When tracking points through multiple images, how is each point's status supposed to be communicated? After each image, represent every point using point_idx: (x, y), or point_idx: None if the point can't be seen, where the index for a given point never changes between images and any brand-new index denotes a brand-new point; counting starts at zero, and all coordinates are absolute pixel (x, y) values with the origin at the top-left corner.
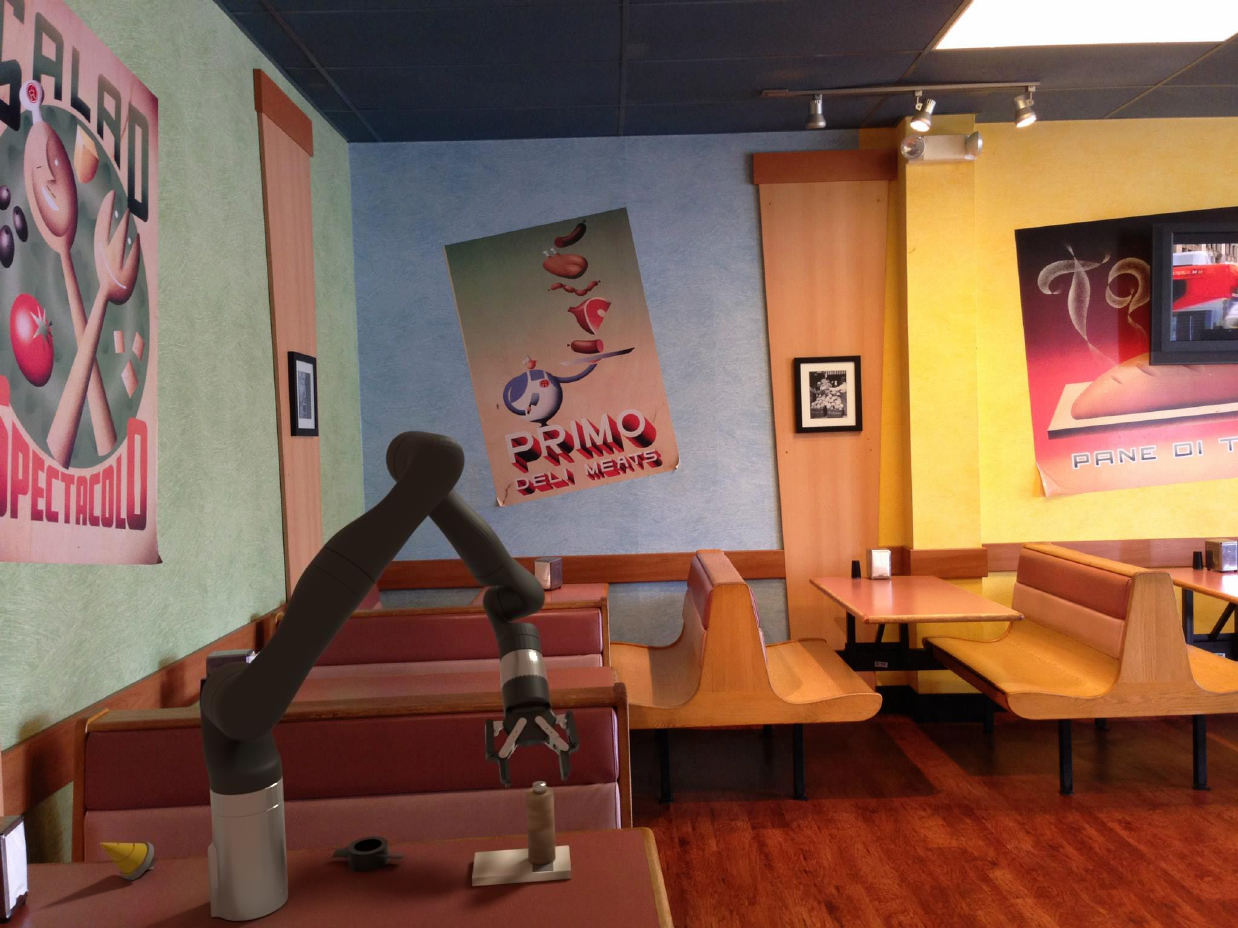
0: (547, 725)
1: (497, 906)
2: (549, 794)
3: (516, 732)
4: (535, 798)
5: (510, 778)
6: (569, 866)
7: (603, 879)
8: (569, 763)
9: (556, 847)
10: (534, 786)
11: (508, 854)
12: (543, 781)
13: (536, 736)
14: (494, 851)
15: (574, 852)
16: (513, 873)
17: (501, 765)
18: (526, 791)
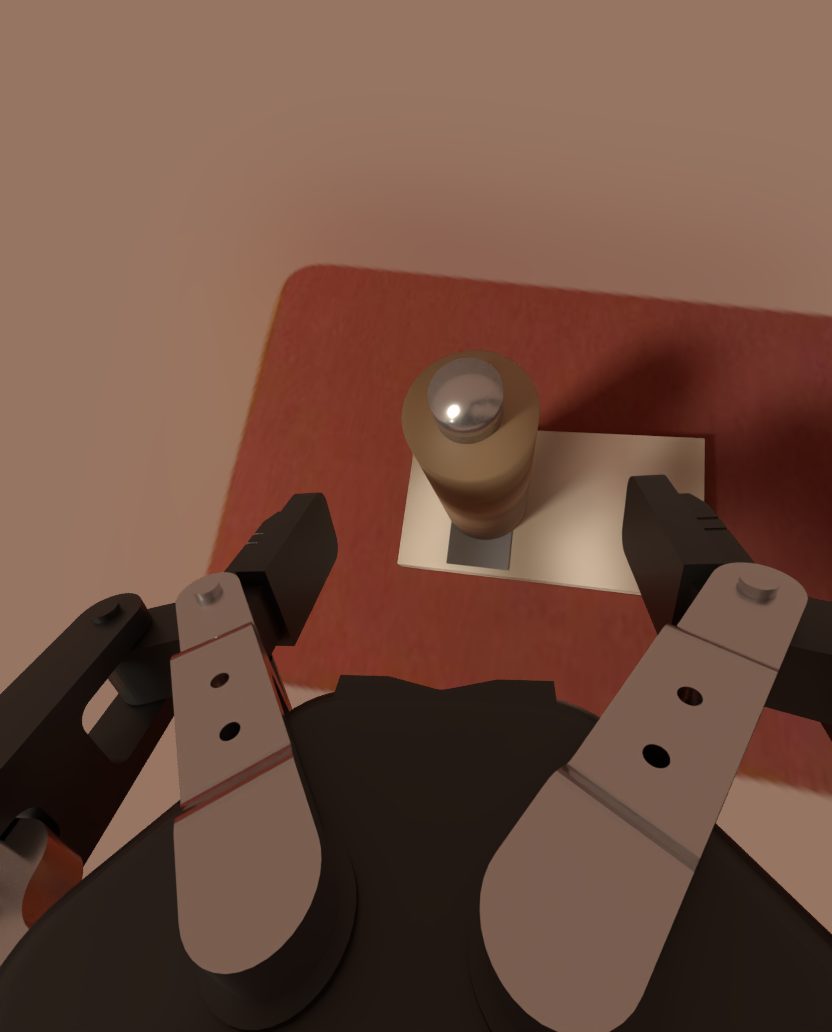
0: (201, 770)
1: (619, 341)
2: (427, 374)
3: (652, 744)
4: (497, 357)
5: (636, 479)
6: None
7: (350, 415)
8: (254, 540)
9: (434, 561)
10: (495, 370)
11: (586, 555)
12: (439, 418)
13: (390, 702)
14: (633, 588)
15: (387, 567)
16: (575, 438)
17: (728, 554)
18: (535, 430)
